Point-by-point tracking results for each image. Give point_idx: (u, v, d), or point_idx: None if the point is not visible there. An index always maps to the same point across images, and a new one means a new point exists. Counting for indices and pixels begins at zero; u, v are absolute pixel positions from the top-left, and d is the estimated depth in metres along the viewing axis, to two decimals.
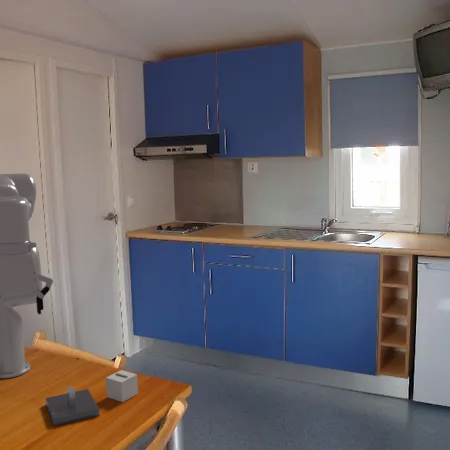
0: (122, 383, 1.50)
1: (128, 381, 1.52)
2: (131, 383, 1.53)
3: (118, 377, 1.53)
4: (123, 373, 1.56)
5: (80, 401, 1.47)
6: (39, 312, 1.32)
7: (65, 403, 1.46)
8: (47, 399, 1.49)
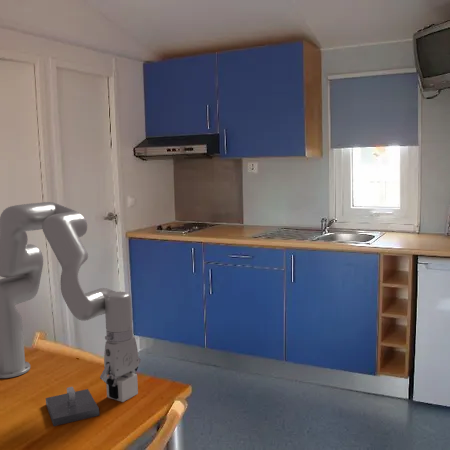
0: (122, 383, 1.50)
1: (128, 381, 1.52)
2: (131, 383, 1.53)
3: (119, 377, 1.53)
4: None
5: (80, 401, 1.47)
6: None
7: (65, 403, 1.46)
8: (47, 399, 1.49)
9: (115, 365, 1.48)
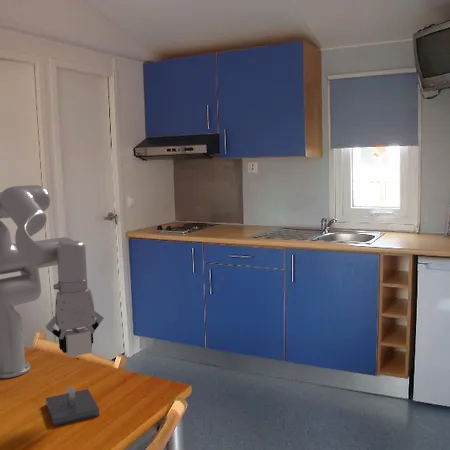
0: (68, 337, 1.41)
1: (77, 337, 1.42)
2: (81, 339, 1.43)
3: (71, 331, 1.44)
4: (80, 328, 1.46)
5: (80, 401, 1.47)
6: None
7: (65, 403, 1.46)
8: (47, 399, 1.49)
9: (59, 316, 1.40)
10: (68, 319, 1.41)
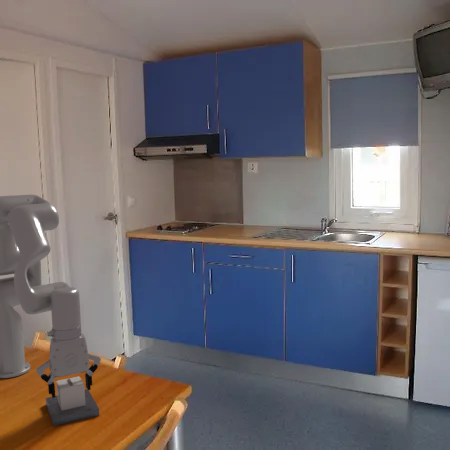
0: (61, 390, 1.41)
1: (70, 390, 1.42)
2: (75, 392, 1.43)
3: (65, 384, 1.44)
4: (75, 380, 1.47)
5: None
6: None
7: None
8: (47, 399, 1.49)
9: (52, 364, 1.40)
10: (61, 366, 1.41)
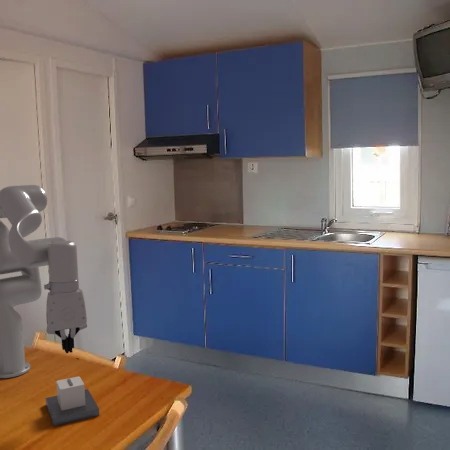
0: (61, 390, 1.41)
1: (70, 390, 1.42)
2: (75, 392, 1.43)
3: (65, 384, 1.44)
4: (75, 380, 1.47)
5: None
6: None
7: None
8: (47, 399, 1.49)
9: (49, 317, 1.38)
10: (58, 320, 1.39)
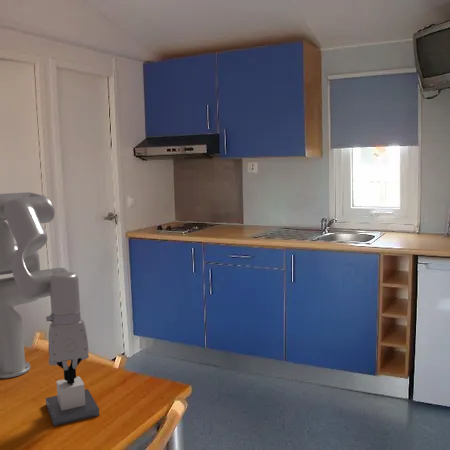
0: (61, 390, 1.41)
1: (70, 390, 1.42)
2: (75, 392, 1.43)
3: (65, 384, 1.44)
4: (75, 380, 1.47)
5: None
6: None
7: None
8: (47, 399, 1.49)
9: (51, 349, 1.40)
10: (60, 351, 1.40)
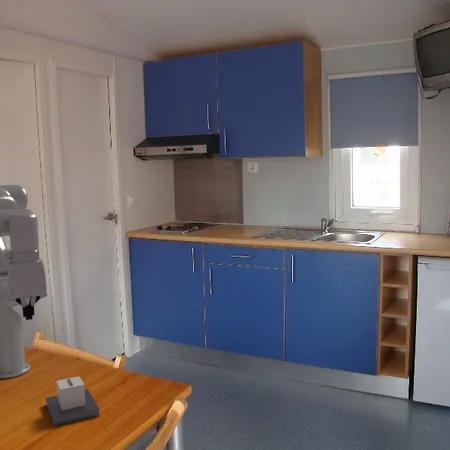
0: (61, 390, 1.41)
1: (70, 390, 1.42)
2: (75, 392, 1.43)
3: (65, 384, 1.44)
4: (75, 380, 1.47)
5: None
6: None
7: None
8: (47, 399, 1.49)
9: (10, 285, 1.44)
10: (18, 288, 1.45)
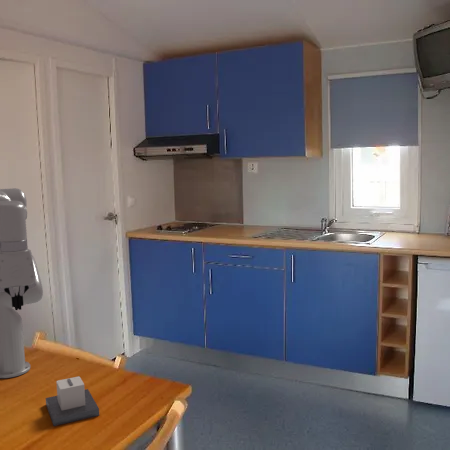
0: (61, 390, 1.41)
1: (70, 390, 1.42)
2: (75, 392, 1.43)
3: (65, 384, 1.44)
4: (75, 380, 1.47)
5: None
6: None
7: None
8: (47, 399, 1.49)
9: None
10: (7, 277, 1.46)
